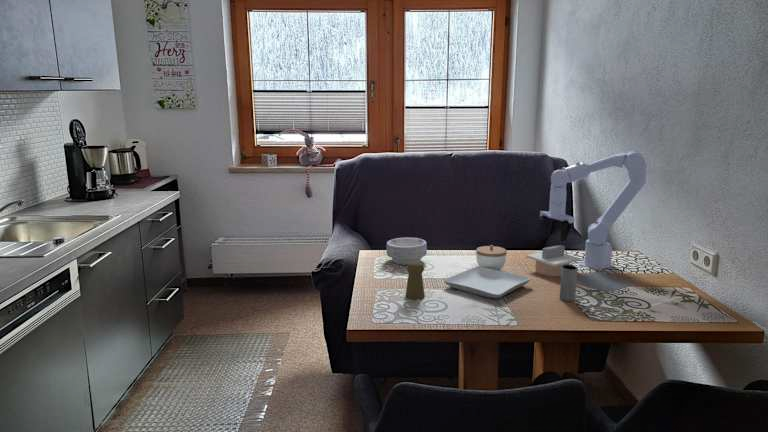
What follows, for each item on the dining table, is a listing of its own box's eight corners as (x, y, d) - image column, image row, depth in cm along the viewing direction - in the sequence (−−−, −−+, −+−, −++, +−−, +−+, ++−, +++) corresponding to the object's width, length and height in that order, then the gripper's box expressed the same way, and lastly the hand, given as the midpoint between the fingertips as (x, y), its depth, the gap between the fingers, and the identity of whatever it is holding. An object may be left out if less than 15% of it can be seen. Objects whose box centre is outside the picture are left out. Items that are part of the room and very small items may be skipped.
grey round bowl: (384, 256, 213) (384, 237, 211) (422, 255, 214) (422, 236, 212) (389, 268, 198) (388, 247, 196) (430, 267, 199) (430, 246, 198)
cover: (551, 252, 200) (552, 240, 199) (580, 260, 189) (581, 248, 188) (526, 257, 194) (526, 245, 193) (554, 266, 183) (555, 254, 182)
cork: (426, 294, 171) (427, 260, 169) (421, 300, 166) (422, 266, 163) (408, 292, 173) (408, 259, 171) (402, 298, 168) (403, 264, 165)
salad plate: (441, 289, 177) (441, 279, 176) (477, 274, 192) (477, 264, 192) (498, 305, 163) (498, 294, 162) (532, 287, 178) (532, 277, 178)
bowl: (550, 266, 200) (551, 253, 199) (575, 274, 191) (576, 260, 189) (528, 270, 194) (529, 257, 193) (552, 279, 185) (553, 265, 184)
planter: (567, 302, 164) (569, 270, 162) (556, 297, 168) (558, 266, 166) (578, 300, 166) (580, 267, 164) (567, 295, 170) (569, 264, 168)
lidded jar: (503, 266, 200) (505, 241, 198) (507, 275, 189) (508, 249, 187) (474, 265, 201) (475, 241, 199) (476, 274, 190) (477, 249, 188)
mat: (596, 272, 193) (596, 271, 193) (637, 285, 179) (637, 283, 179) (565, 279, 185) (565, 278, 185) (605, 293, 171) (605, 292, 171)
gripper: (535, 200, 203) (533, 235, 206) (566, 206, 191) (563, 244, 194) (548, 198, 207) (546, 233, 210) (579, 204, 195) (576, 241, 197)
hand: (555, 238), depth 202 cm, fingers open, 7 cm apart
